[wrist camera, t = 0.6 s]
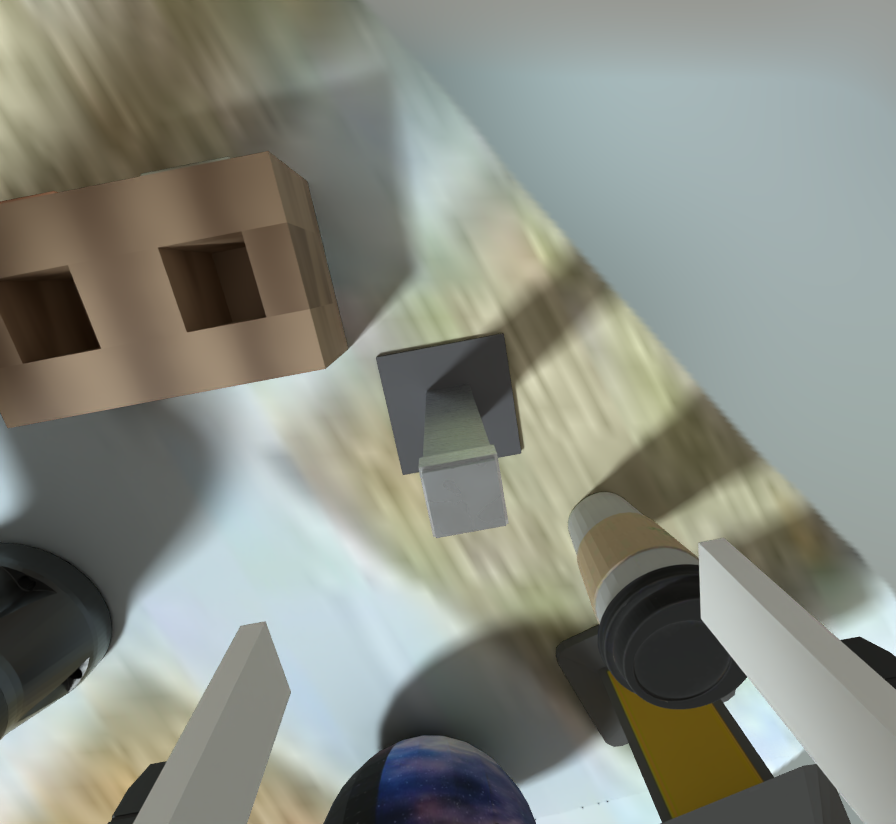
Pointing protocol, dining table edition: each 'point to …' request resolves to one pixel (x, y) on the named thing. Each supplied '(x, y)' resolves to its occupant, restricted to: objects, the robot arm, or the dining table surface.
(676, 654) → the coffee cup
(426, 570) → the dining table surface
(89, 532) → the dining table surface
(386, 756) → the decorative sphere
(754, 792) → the lantern
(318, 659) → the dining table surface
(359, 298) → the dining table surface
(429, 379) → the mat
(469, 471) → the plug
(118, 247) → the socket block
